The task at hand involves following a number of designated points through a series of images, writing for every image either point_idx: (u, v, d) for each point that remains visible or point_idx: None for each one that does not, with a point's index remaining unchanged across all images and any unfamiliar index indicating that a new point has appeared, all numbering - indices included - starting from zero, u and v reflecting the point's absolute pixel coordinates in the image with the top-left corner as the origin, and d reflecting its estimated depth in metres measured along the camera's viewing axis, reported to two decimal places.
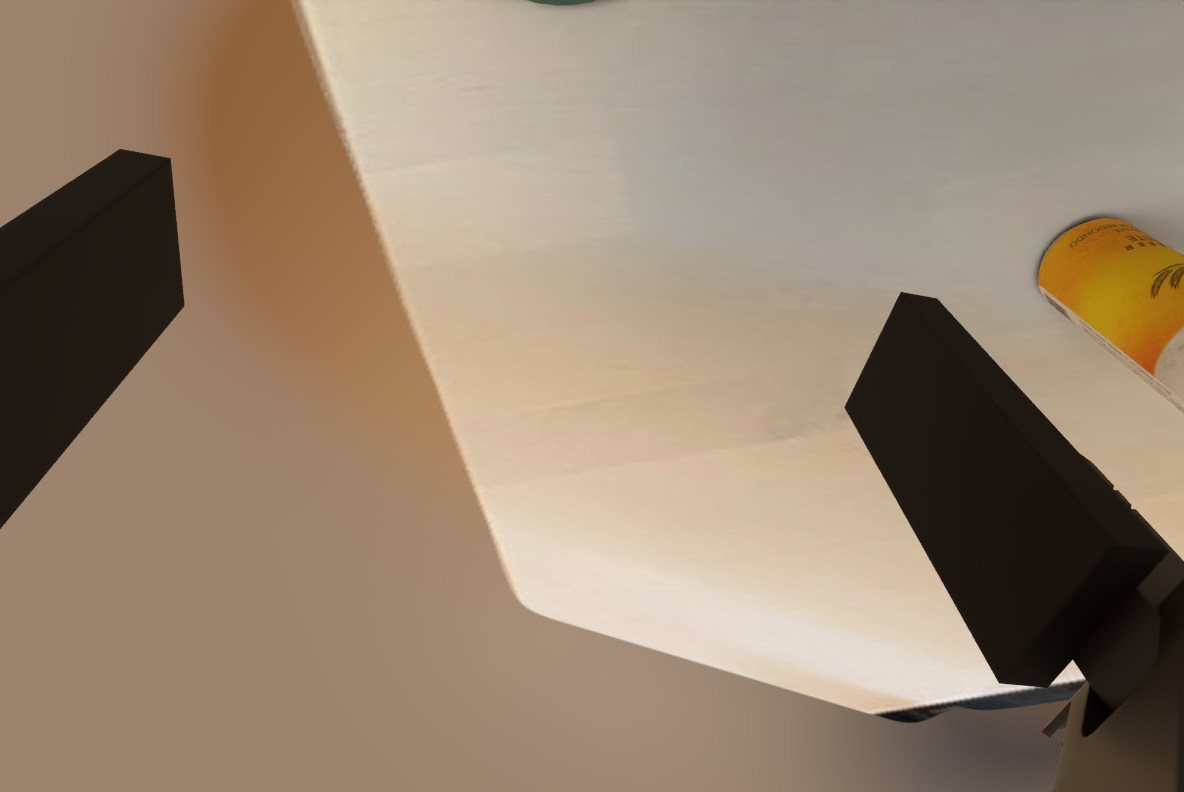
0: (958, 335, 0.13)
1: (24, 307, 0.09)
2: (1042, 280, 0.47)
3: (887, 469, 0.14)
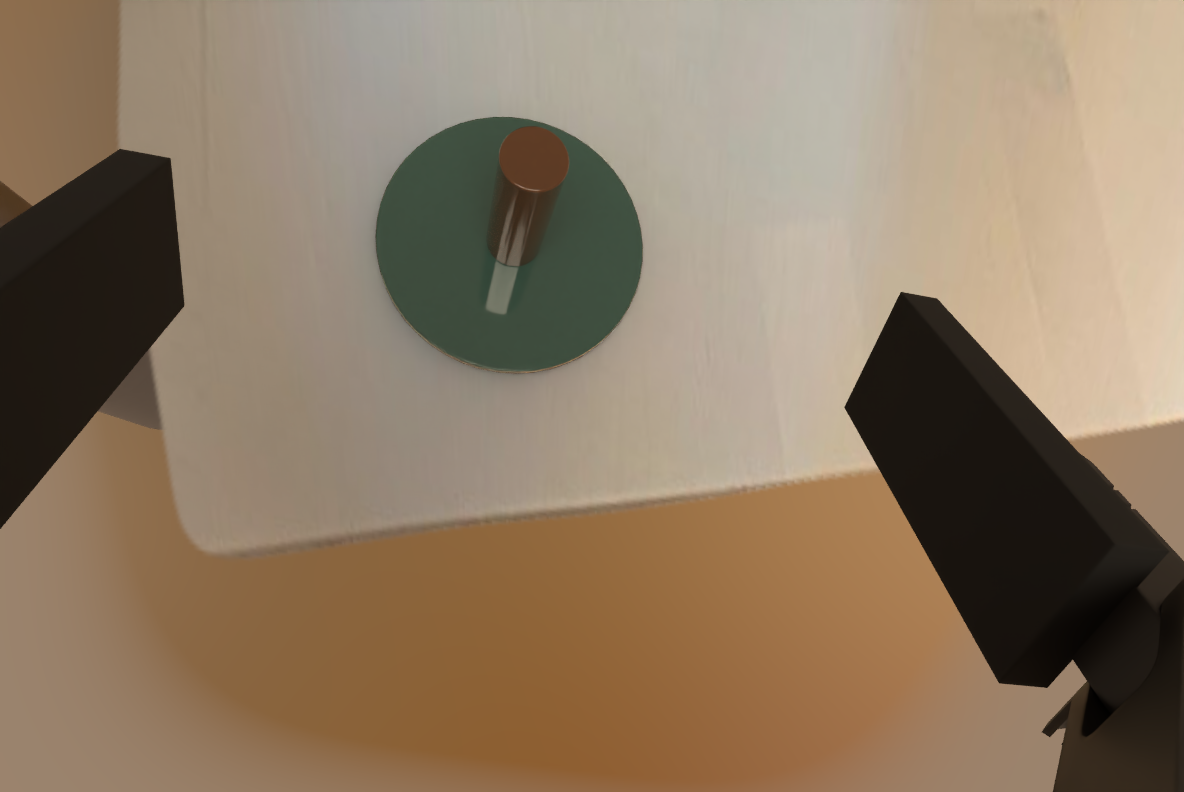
0: (957, 335, 0.13)
1: (24, 307, 0.09)
2: None
3: (887, 468, 0.14)
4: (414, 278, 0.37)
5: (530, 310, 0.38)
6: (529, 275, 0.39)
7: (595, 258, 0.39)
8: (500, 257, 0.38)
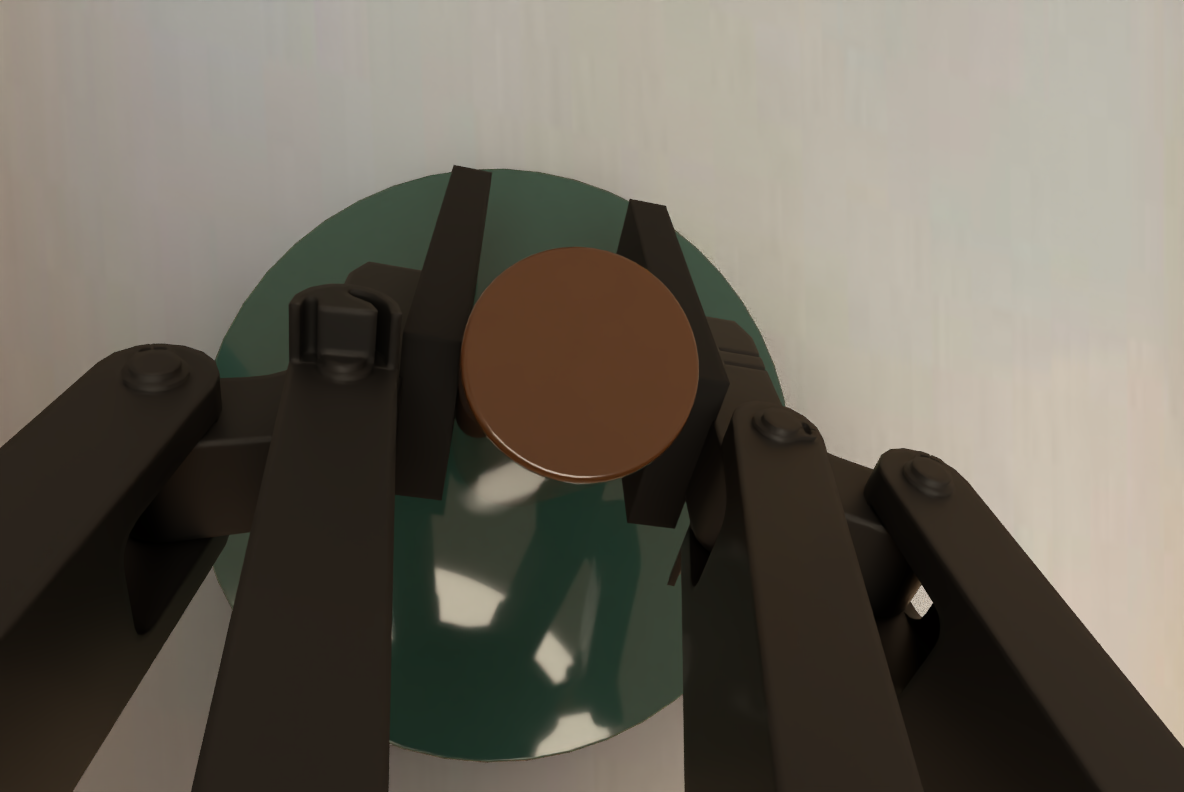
0: (660, 232, 0.14)
1: None
2: None
3: None
4: None
5: (556, 607, 0.17)
6: (551, 524, 0.17)
7: None
8: (485, 497, 0.16)
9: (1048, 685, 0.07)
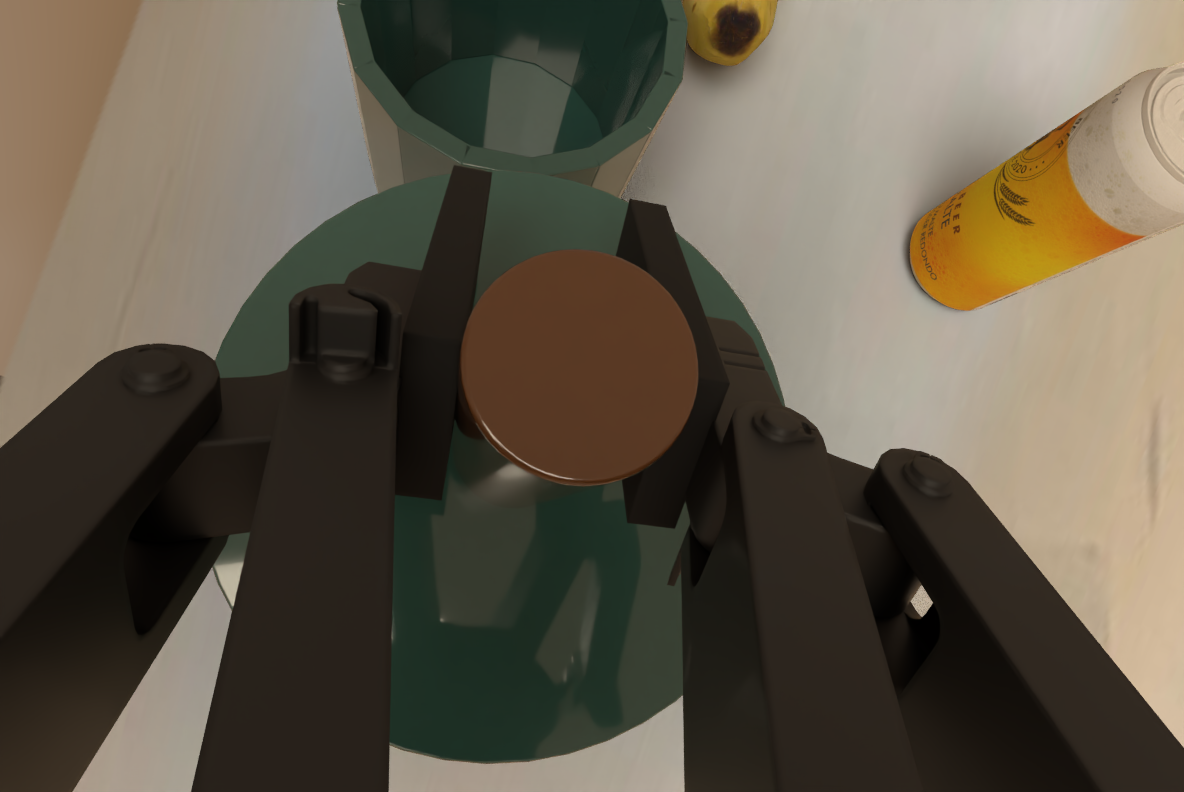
0: (660, 231, 0.14)
1: None
2: (966, 307, 0.41)
3: None
4: None
5: (556, 609, 0.17)
6: (551, 525, 0.17)
7: None
8: (485, 498, 0.16)
9: (1048, 685, 0.07)
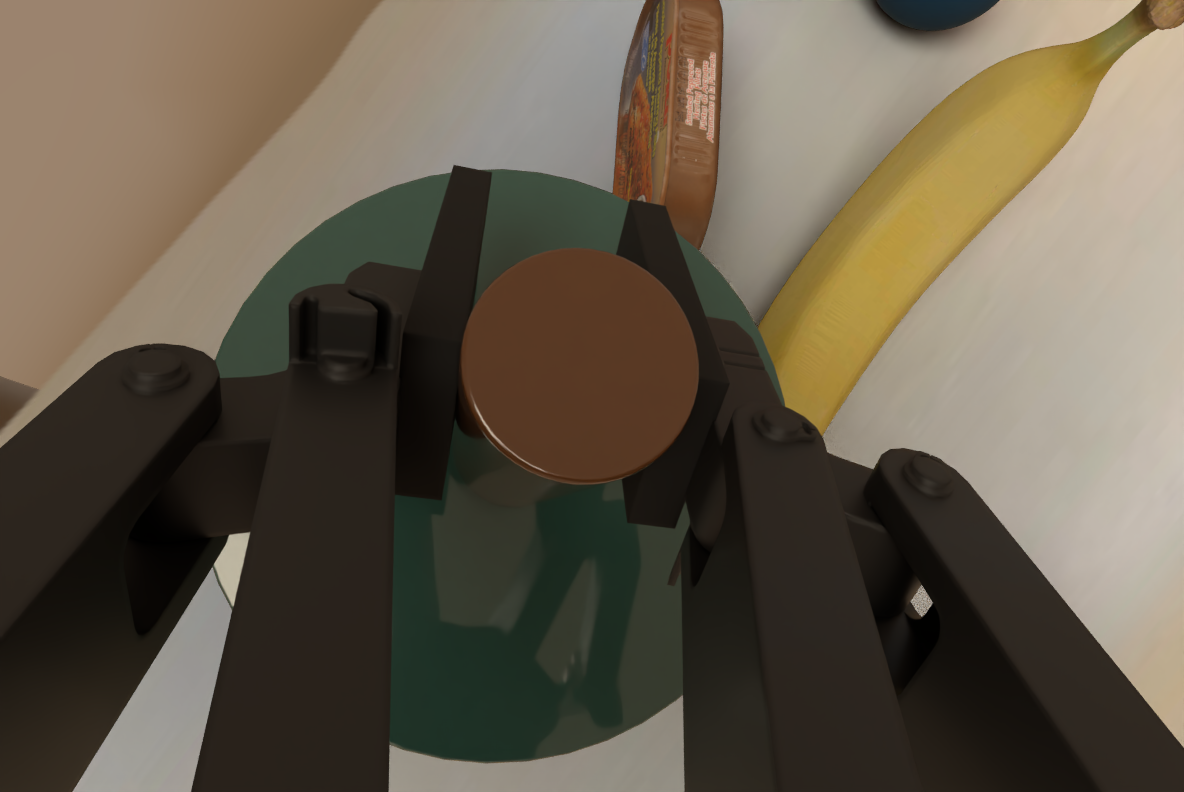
0: (660, 232, 0.14)
1: None
2: None
3: None
4: None
5: (556, 608, 0.17)
6: (551, 525, 0.17)
7: None
8: (485, 498, 0.16)
9: (1048, 685, 0.07)
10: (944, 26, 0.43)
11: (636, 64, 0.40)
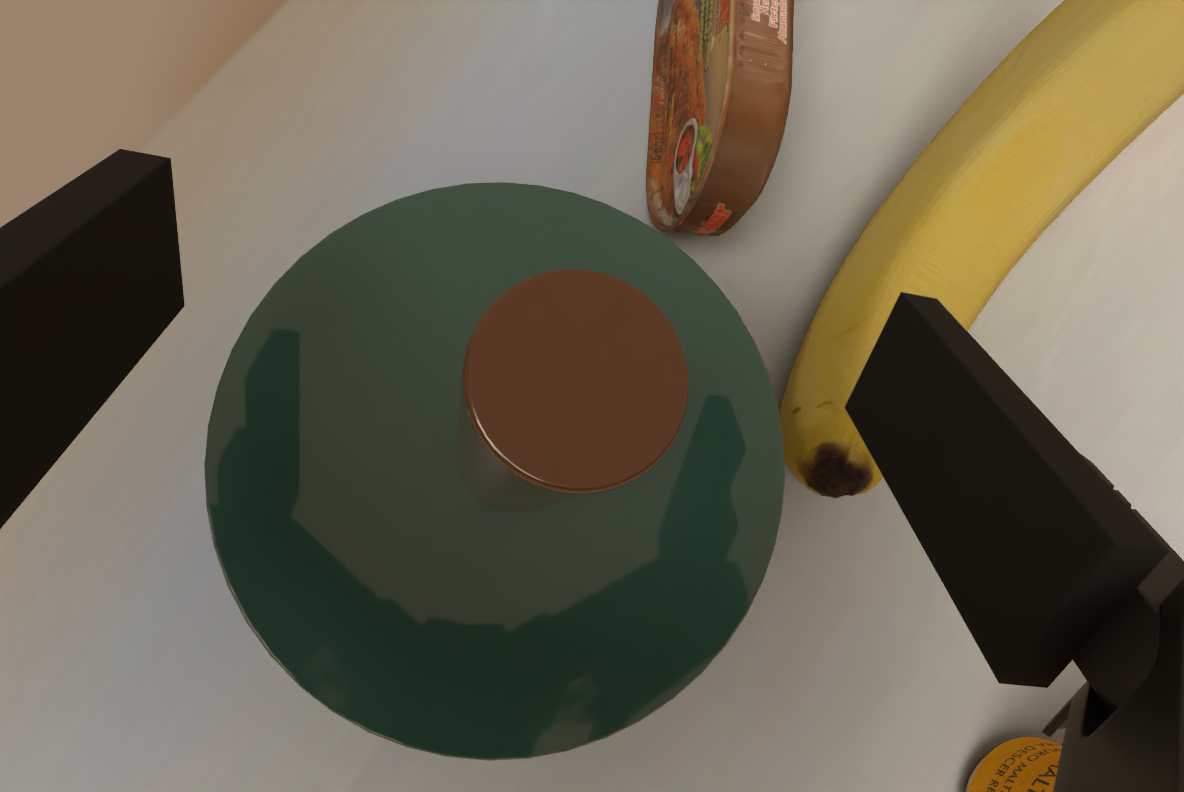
0: (958, 335, 0.13)
1: (24, 307, 0.09)
2: None
3: (888, 469, 0.14)
4: (293, 559, 0.17)
5: (555, 610, 0.17)
6: (551, 529, 0.18)
7: (689, 478, 0.19)
8: (486, 503, 0.17)
9: None
10: None
11: None
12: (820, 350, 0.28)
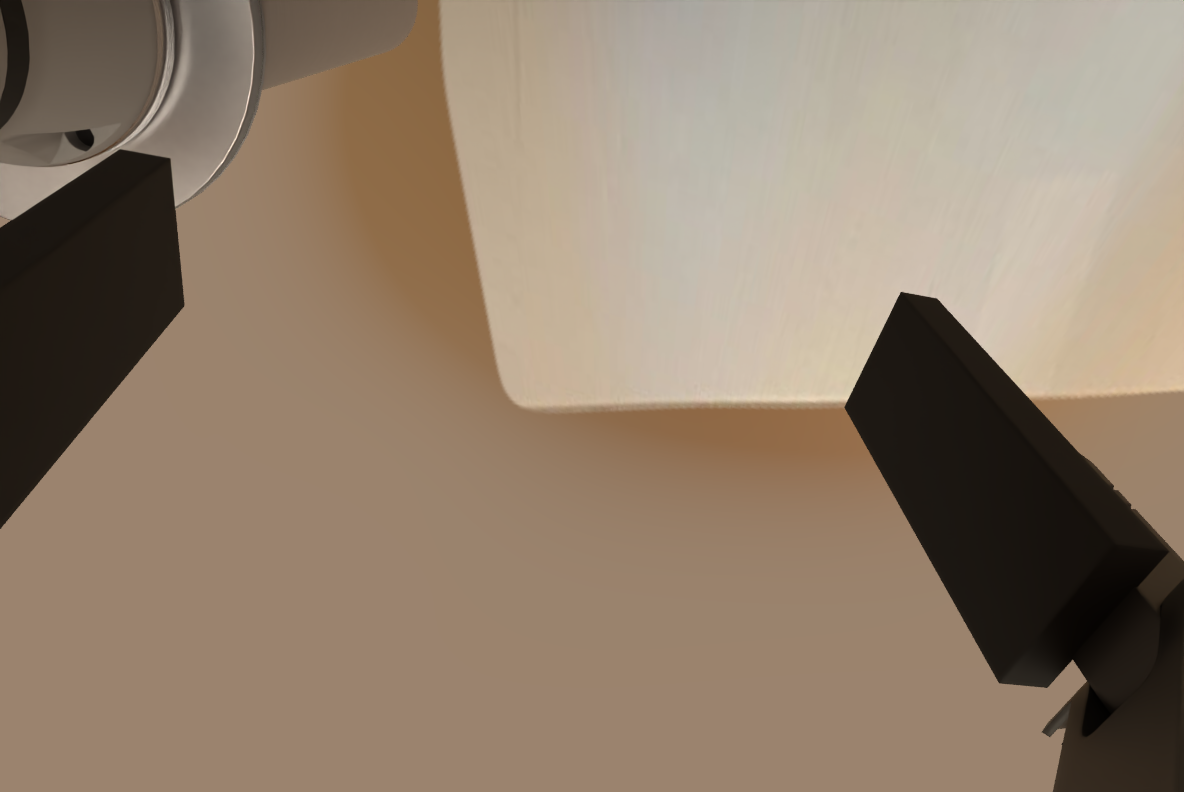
0: (958, 335, 0.13)
1: (24, 307, 0.09)
2: None
3: (888, 468, 0.14)
4: None
5: None
6: None
7: None
8: None
9: None
10: None
11: None
12: None
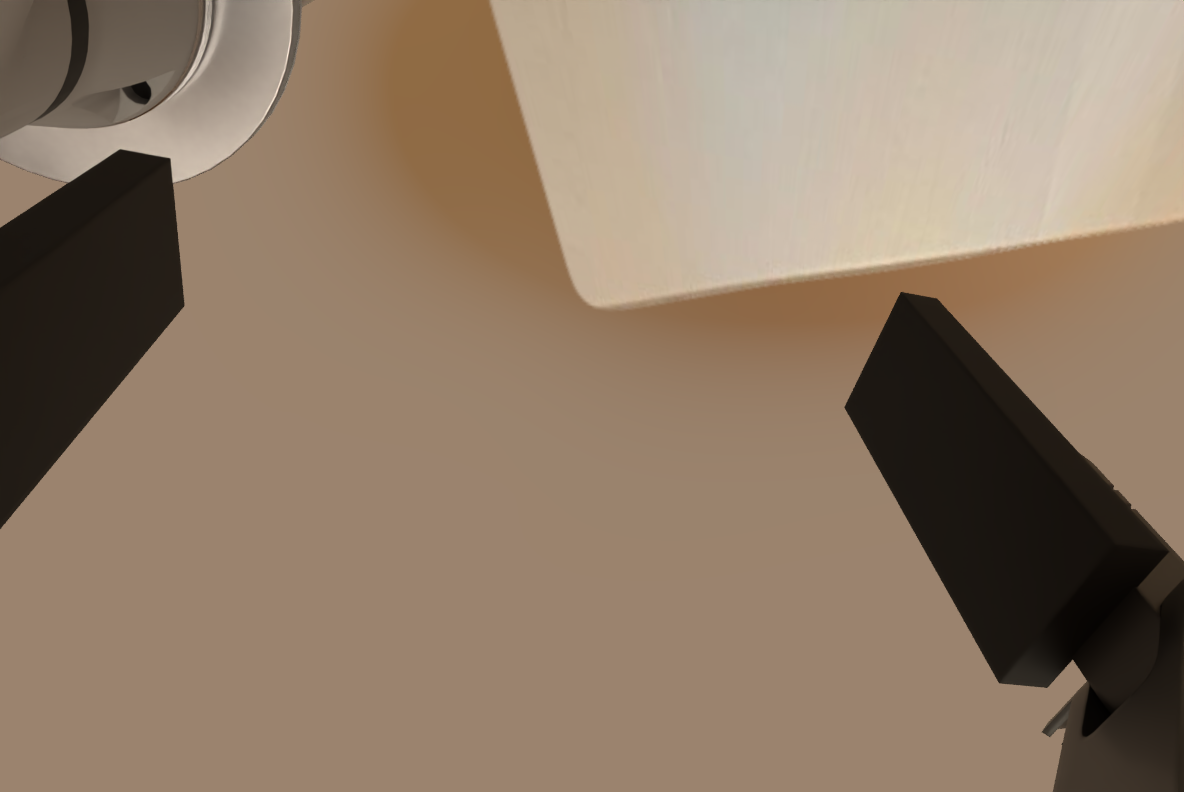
0: (957, 335, 0.13)
1: (24, 307, 0.09)
2: None
3: (887, 469, 0.14)
4: None
5: None
6: None
7: None
8: None
9: None
10: None
11: None
12: None
